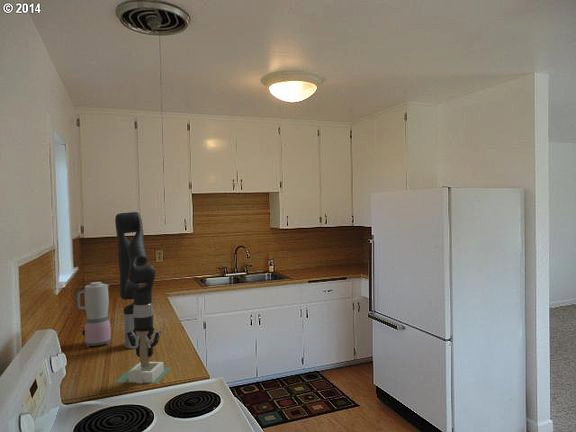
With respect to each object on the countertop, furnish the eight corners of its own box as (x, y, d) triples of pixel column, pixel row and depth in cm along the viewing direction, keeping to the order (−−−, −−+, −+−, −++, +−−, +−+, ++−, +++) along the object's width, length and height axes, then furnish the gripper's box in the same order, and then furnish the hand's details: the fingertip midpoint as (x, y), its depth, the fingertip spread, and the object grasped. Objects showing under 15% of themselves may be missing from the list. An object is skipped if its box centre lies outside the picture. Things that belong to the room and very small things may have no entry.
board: (133, 368, 182) (133, 366, 182) (172, 369, 180) (172, 366, 180) (113, 384, 167) (113, 381, 167) (156, 385, 165) (156, 382, 164)
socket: (141, 370, 177) (141, 361, 177) (163, 371, 176) (163, 362, 176) (127, 382, 165) (126, 373, 165) (151, 383, 164) (151, 373, 164)
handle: (154, 366, 169) (153, 330, 169) (137, 370, 166) (136, 332, 166) (152, 362, 174) (151, 327, 173) (136, 365, 171) (134, 329, 170)
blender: (112, 338, 225) (109, 279, 224) (111, 345, 213) (108, 283, 213) (79, 342, 219) (77, 282, 218) (76, 350, 208) (74, 286, 207)
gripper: (163, 312, 172) (165, 353, 173) (131, 312, 174) (132, 352, 175) (156, 317, 165) (157, 360, 166) (122, 316, 167) (123, 359, 167)
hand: (144, 356), depth 170 cm, fingers closed on handle, 4 cm apart
